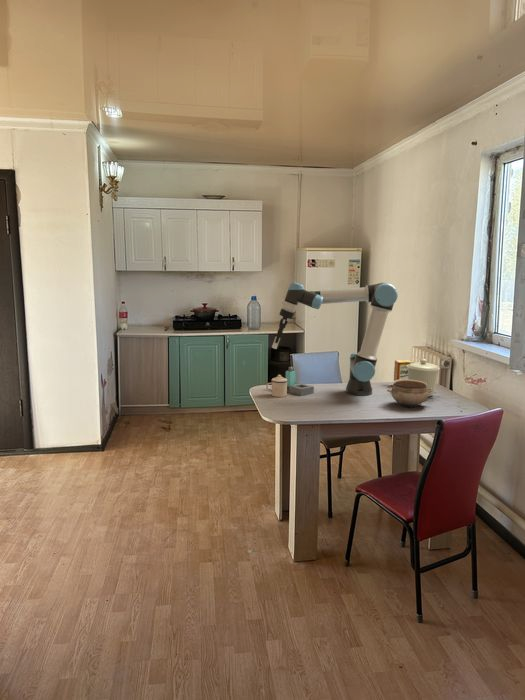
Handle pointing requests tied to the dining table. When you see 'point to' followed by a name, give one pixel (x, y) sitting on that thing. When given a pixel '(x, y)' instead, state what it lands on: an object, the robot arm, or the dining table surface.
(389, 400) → the dining table surface
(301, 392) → the port panel
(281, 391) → the teacup with lid
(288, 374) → the aqua plug
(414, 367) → the canister
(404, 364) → the baking soda box
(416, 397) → the cooking pot
